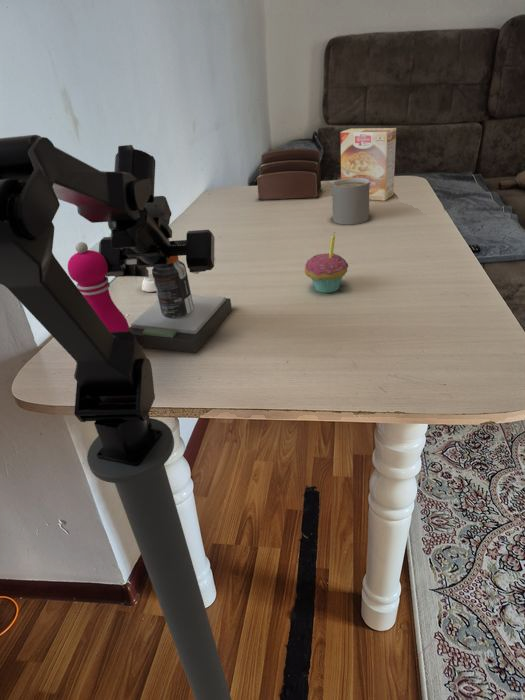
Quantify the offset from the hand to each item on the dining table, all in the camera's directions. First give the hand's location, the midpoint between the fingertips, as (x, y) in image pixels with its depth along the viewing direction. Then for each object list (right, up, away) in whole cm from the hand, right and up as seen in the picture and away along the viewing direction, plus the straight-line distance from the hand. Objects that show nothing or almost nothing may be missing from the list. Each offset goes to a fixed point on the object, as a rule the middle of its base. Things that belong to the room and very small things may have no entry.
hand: (172, 272), depth 86 cm
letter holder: (+26, +38, +77) cm, 89 cm away
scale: (+1, -10, +4) cm, 10 cm away
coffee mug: (+41, +24, +50) cm, 69 cm away
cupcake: (+29, -1, +12) cm, 32 cm away
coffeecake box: (+49, +35, +66) cm, 90 cm away
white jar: (-8, 0, +21) cm, 23 cm away
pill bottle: (+1, -7, +2) cm, 7 cm away
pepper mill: (-11, -6, -7) cm, 14 cm away
